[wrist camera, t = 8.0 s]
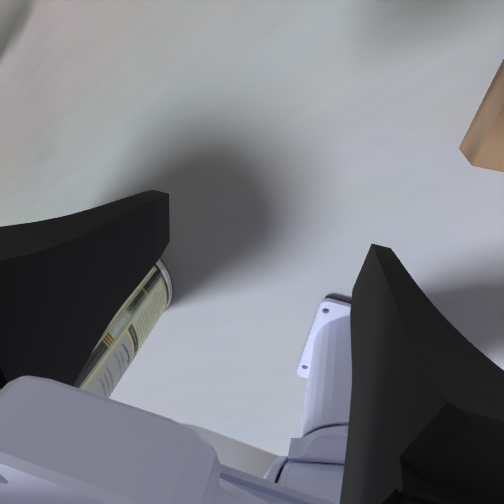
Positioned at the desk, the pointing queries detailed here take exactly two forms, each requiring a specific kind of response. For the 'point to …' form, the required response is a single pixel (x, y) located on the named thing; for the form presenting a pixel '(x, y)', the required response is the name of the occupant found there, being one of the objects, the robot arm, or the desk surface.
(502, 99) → the walnut slab
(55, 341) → the robot arm
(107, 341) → the coffee can
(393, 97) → the desk surface
